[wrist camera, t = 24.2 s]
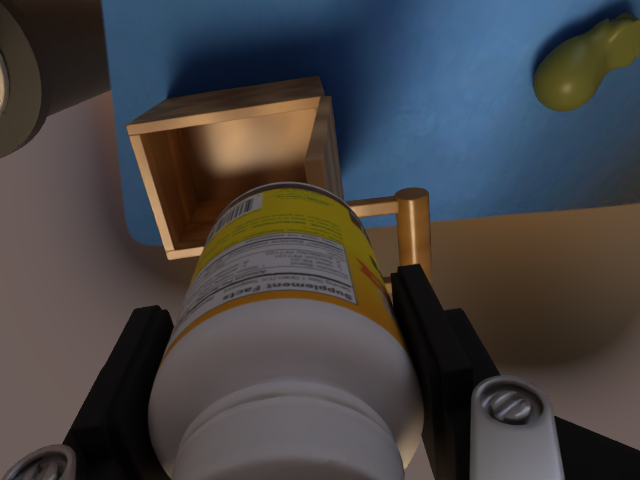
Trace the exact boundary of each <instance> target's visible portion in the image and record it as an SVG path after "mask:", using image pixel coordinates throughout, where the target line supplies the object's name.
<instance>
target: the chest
mask: <svg viewBox="0 0 640 480" xmlns="http://www.w3.org/2000/svg"><path fill="white" fill-rule="evenodd" d="M320 97H325V93H324V90H323V87H322V84H321V81H320V77H319V76H312V77H305V78H299V79H292V80H286V81H279V82H272V83H266V84H259V85H252V86H246V87H239V88H233V89H226V90H219V91H213V92H206V93H199V94H193V95H186V96H179V97H173V98H167V99H165V100H164V101H162V102H161V103H159V104H158V105H156V106H154V107H153V108H151V109H150V110H148V111H147V112H145V113H144V114H142V115H141V116H139V117H138V118H136V119H135V120H133V121H132V122H130V123H129V124H127V125H126V128H127V131H128V134H129V137H130V140H131V144H132V147H133V150H134V153H135V156H136V159H137V163H138V166H139V169H140V172H141V175H142V178H143V182H144V185H145V188H146V191H147V194H148V198H149V201H150V204H151V207H152V210H153V213H154V217H155V220H156V223H157V226H158V229H159V232H160V236H161V239H162V242H163V245H164V248H165V251H166V254H167V258H168V260H172V259H178V258H186V257H193V256H199V255H201V253H202V251H203V249H204V246H205V244H206V241H207V238H208V235H209V233H210V231H211V229H212V227H213V225H214V223H215V222H216V220H217V218H218V217H219V215H220V214H221V213H222V212H223V210H224V209H225V208H226V207H227V206H228V205H229V204H230V203H231V202H233V201H234V200H235V199H236V198H238V197H239V196H241V195H242V194H244V193H246V192H248V191H250V190H252V189H254V188H257V187H260V186H263V185H267V184H271V183H277V182H300V183H306V184H308V183H307V177H306V170H305V164H304V161H305V157H306V153H307V149H308V145H309V141H310V137H311V133H312V129H313V125H314V121H315V117H316V113H317V109H318V105H319V101H320Z"/></svg>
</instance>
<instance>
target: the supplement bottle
mask: <svg viewBox="0 0 640 480" xmlns="http://www.w3.org/2000/svg"><path fill="white" fill-rule="evenodd" d="M423 424H424V401H423V395H422V390H421V386H420V383H419V379H418V375H417V372H416V370H415V367H414V364H413V361H412V358H411V355H410V352H409V349H408V347H407V344H406V341H405V338H404V336H403V333H402V330H401V327H400V324H399V322H398V319H397V316H396V313H395V310H394V308H393V305H392V302H391V300H390V297H389V294H388V291H387V288H386V285H385V282H384V280H383V277H382V275H381V272H380V269H379V266H378V263H377V260H376V257H375V255H374V252H373V249H372V246H371V243H370V241H369V238H368V236H367V234H366V231H365V228H364V227H363V225H362V223H361V221H360V219H359V218H358V217H357V215H356V214H355V212H354V211H353V210H352V209H351V208H350V207H349V206H348V205H347V204H346V203H345V202H344V201H343V200H341V199H340V198H339V197H337V196H336V195H334V194H332V193H331V192H329V191H327V190H325V189H322V188H320V187H317V186H314V185H310V184H306V183H300V182H277V183H271V184H267V185H263V186H260V187H257V188H254V189H252V190H250V191H248V192H246V193H244V194H242V195H241V196H239V197H238V198H236V199H235V200H234V201H233V202H231V203H230V204H229V205H228V206H227V207H226V208H225V209H224V210H223V212H222V213H221V214H220V215H219V217H218V218H217V220H216V222H215V223H214V225H213V227H212V229H211V231H210V233H209V235H208V238H207V241H206V244H205V246H204V249H203V251H202V253H201V255H200V259H199V261H198V264H197V267H196V270H195V273H194V275H193V277H192V280H191V283H190V285H189V288H188V291H187V294H186V296H185V298H184V302H183V305H182V307H181V310H180V312H179V315H178V318H177V321H176V324H175V326H174V329H173V331H172V334H171V337H170V339H169V342H168V344H167V347H166V350H165V353H164V355H163V358H162V361H161V364H160V366H159V369H158V372H157V374H156V377H155V380H154V384H153V388H152V391H151V395H150V400H149V407H148V428H149V436H150V440H151V443H152V446H153V449H154V451H155V454H156V456H157V459H158V461H159V462H160V464H161V466H162V467H163V469H164V470H165V472H166V473H167V475H168V476H169V477H170V478H171V480H404V476H405V472H404V469H405V468H406V467H407V466H408V464H409V462H410V461H411V459H412V457H413V455H414V453H415V451H416V449H417V446H418V444H419V441H420V437H421V434H422V429H423Z"/></svg>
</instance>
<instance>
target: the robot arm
mask: <svg viewBox="0 0 640 480" xmlns="http://www.w3.org/2000/svg"><path fill="white" fill-rule="evenodd" d="M8 97H9V79H8V73H7V68H6V66H5V63H4V60H3V57H2V55H1V53H0V117H1V115H2V114H3V112H4V110H5V108H6V105H7V101H8ZM391 287H392V296H393V307H394V310H395V313H396V316H397V319H398V322H399V324H400V327H401V330H402V333H403V336H404V338H405V341H406V344H407V347H408V349H409V352H410V355H411V358H412V361H413V364H414V367H415V370H416V372H417V375H418V379H419V383H420V386H421V390H422V395H423V401H424V424H423V429H422V434H421V436H422V439H423V443H424V446H425V449H426V453H427V456H428V459H429V462H430V466H431V468H432V472H433V475H434V478H435V480H640V451H639V450H637V449H634V448H632V447H629V446H627V445H625V444H622V443H620V442H617V441H615V440H612V439H610V438H608V437H605V436H603V435H600V434H598V433H595V432H593V431H590V430H588V429H586V428H583V427H581V426H578V425H576V424H573V423H571V422H568V421H566V420H564V419H561V418H559V417H556V416H554V412H553V407H552V404H551V401H550V399H549V397H548V395H547V394H546V393H545V392H544V391H543V390H542V389H541V388H540V387H539V386H537V385H535V384H534V383H532V382H530V381H528V380H525V379H523V378H519V377H514V376H501V375H500V374H499V372H498V370H497V368H496V366H495V365H494V363H493V361H492V360H491V358H490V356H489V354H488V352H487V351H486V349H485V347H484V346H483V344H482V342H481V340H480V339H479V337H478V335H477V334H476V332H475V330H474V328H473V326H472V325H471V323H470V321H469V319H468V318H467V316H466V314H465V312H464V311H463V310H462V309H461V308H457V309H451V310H443V308H442V306H441V304H440V302H439V300H438V298H437V296H436V294H435V292H434V290H433V288H432V286H431V284H430V282H429V281H428V279H427V277H426V275H425V273H424V271H423V269H422V267H421V265H420V264H419V263H418V264H411V265H405V266H399V267H398V272H397V273H391ZM173 329H174V325H173V322H172V320H171V317H170V314H169V312H168V311H167V310H162V309H161V308H160V306H158V305H155V306H149V307H142V308H136V309H135V310H134V311H133V312H132V314H131V316H130V318H129V321H128V322H127V324H126V326H125V328H124V330H123V332H122V333H121V336H120V337H119V339H118V341H117V343H116V345H115V347H114V349H113V351H112V353H111V354H110V356H109V358H108V360H107V362H106V364H105V365H104V367H103V368H102V370H101V371H100V373H99V375H98V377H97V379H96V381H95V383H94V385H93V386H92V388H91V390H90V392H89V394H88V396H87V398H86V400H85V401H84V403H83V405H82V407H81V409H80V411H79V413H78V415H77V417H76V419H75V421H74V422H73V424H72V426H71V428H70V430H69V432H68V434H67V436H66V438H65V439H64V441H63V443H62V444H61V445H60V444H59V445H50V446H47V447H43V448H40V449H38V450H36V451H34V452H32V453H30V454H28V455H27V456H25V457H24V458H22V459H21V460H19V461H18V462H17V463H16V464H15V465H14V466H13V467H12V468H10V469H9V470H8V471H7V473H6V474H5V475H4V477H3V478H2V479H1V480H171V478H170V477H169V476H168V475H167V473H166V472H165V470H164V469H163V467H162V466H161V464H160V462H159V461H158V459H157V456H156V454H155V451H154V449H153V446H152V443H151V440H150V436H149V428H148V407H149V400H150V395H151V391H152V388H153V384H154V380H155V377H156V374H157V372H158V369H159V366H160V364H161V361H162V358H163V355H164V353H165V350H166V347H167V344H168V342H169V339H170V337H171V334H172V331H173Z"/></svg>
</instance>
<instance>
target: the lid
mask: <svg viewBox="0 0 640 480" xmlns="http://www.w3.org/2000/svg"><path fill="white" fill-rule="evenodd" d="M304 164H305V170H306V177H307V183H308V184H310V185H314V186H317V187H320V188H322V189H325V190H327V191H329V192H331V193H332V194H334V195H336V196H337V197H339V198H340V199H341V200H343V201H344V194H343V186H342V178H341V170H340V162H339V154H338V146H337V138H336V130H335V122H334V114H333V106H332V98H331V96H325V97H320V101H319V105H318V109H317V113H316V117H315V121H314V125H313V129H312V133H311V137H310V141H309V145H308V149H307V153H306V157H305V161H304ZM345 203H346V204H347V205H348V206H349V207H350V208H351V209H352V210H353V211H354V212H355V214H356V215H357V217H358V218H359V217H368V216H378V215H387V214H396V219H397V232H398V246H399V260H400V266H405V265H411V264H418V263H419V264H420V265H421V267H422V269H423V271H424V273H425V275H426V277H427V279H428V281H429V282H430V284H431V286H432V288H433V283H432V259H431V235H430V210H429V192H428V191H427V190H426V189H423V188H406V189H402V190H399V191H398V192H396V194H395V196H389V197H381V198H372V199H363V200H354V201H345ZM383 280H384V282H385V285H386V288H387V291H388V294H392V287H391V276H390V277H383Z"/></svg>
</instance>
